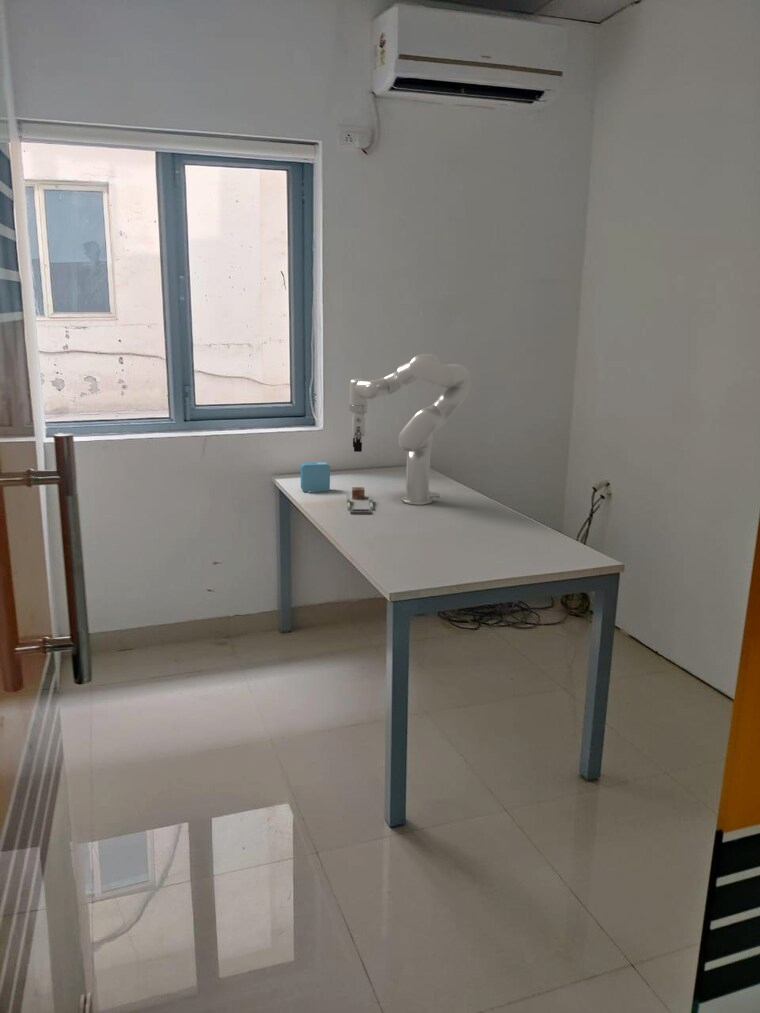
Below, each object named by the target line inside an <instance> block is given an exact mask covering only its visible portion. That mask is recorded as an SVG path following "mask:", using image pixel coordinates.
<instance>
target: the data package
mask: <svg viewBox="0 0 760 1013" xmlns="http://www.w3.org/2000/svg"><path fill="white" fill-rule="evenodd" d="M330 466H331V465H329V463H328V462H327V461H326V462H325V461H321V462H320V461H319V462H302V463H301V464H300V488H301V490H302V491H303V492H304V493H310V492H309V491H325V492H329V491H330V489H331V467H330Z"/></svg>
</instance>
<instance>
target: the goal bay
mask: <svg viewBox="0 0 760 1013" xmlns="http://www.w3.org/2000/svg"><path fill="white" fill-rule="evenodd" d="M346 509H347V510H346V511H350V509H351V503H347V502H346ZM369 509H371V511H373V510H374V506H373V502H372V503H370V506H369Z"/></svg>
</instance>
